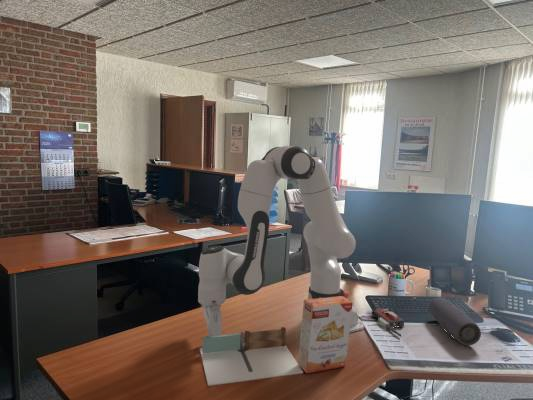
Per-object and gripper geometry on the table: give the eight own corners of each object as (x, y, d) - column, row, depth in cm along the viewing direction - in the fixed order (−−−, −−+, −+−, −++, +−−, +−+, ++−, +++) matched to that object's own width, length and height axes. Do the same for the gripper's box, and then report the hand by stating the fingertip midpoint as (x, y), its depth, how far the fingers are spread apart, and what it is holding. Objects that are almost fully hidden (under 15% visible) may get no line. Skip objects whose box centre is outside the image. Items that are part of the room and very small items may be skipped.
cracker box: (306, 375, 112) (312, 306, 110) (297, 364, 118) (302, 298, 115) (346, 367, 118) (353, 301, 115) (335, 357, 123) (341, 294, 121)
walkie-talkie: (366, 316, 156) (397, 339, 137) (367, 305, 155) (399, 328, 137) (385, 314, 159) (418, 337, 140) (385, 303, 158) (419, 325, 139)
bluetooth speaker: (481, 349, 132) (484, 321, 131) (454, 348, 132) (457, 320, 131) (449, 320, 155) (452, 296, 153) (426, 319, 155) (428, 295, 153)
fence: (284, 343, 130) (284, 326, 129) (285, 346, 128) (286, 329, 127) (243, 348, 126) (244, 330, 125) (244, 350, 124) (245, 333, 123)
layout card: (281, 340, 133) (281, 338, 133) (303, 373, 114) (303, 371, 114) (199, 349, 125) (199, 347, 125) (208, 386, 106) (208, 384, 106)
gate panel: (242, 348, 125) (243, 331, 125) (243, 349, 124) (244, 333, 124) (202, 352, 122) (202, 335, 121) (202, 354, 121) (202, 337, 120)
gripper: (227, 308, 117) (225, 350, 119) (216, 284, 136) (216, 321, 138) (206, 309, 115) (205, 353, 117) (198, 285, 134) (198, 323, 136)
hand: (211, 335), depth 128 cm, fingers closed
